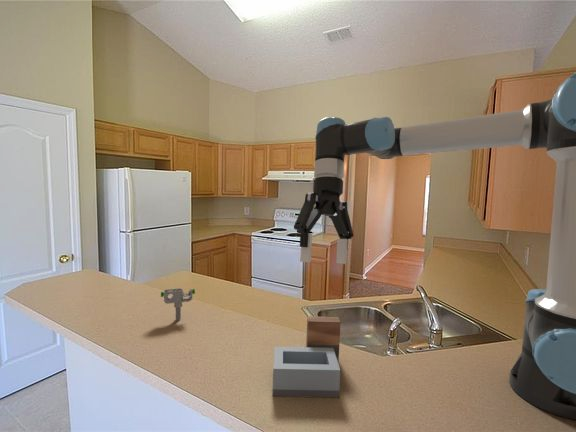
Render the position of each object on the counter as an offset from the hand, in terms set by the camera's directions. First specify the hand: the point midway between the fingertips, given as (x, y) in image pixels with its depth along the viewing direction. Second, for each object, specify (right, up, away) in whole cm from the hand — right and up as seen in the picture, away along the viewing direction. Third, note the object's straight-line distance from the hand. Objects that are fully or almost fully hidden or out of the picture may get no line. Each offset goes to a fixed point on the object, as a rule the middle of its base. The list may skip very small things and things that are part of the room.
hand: (324, 263), depth 74 cm
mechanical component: (-45, -22, +24) cm, 56 cm away
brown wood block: (0, -25, +3) cm, 26 cm away
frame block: (-5, -26, -6) cm, 27 cm away
